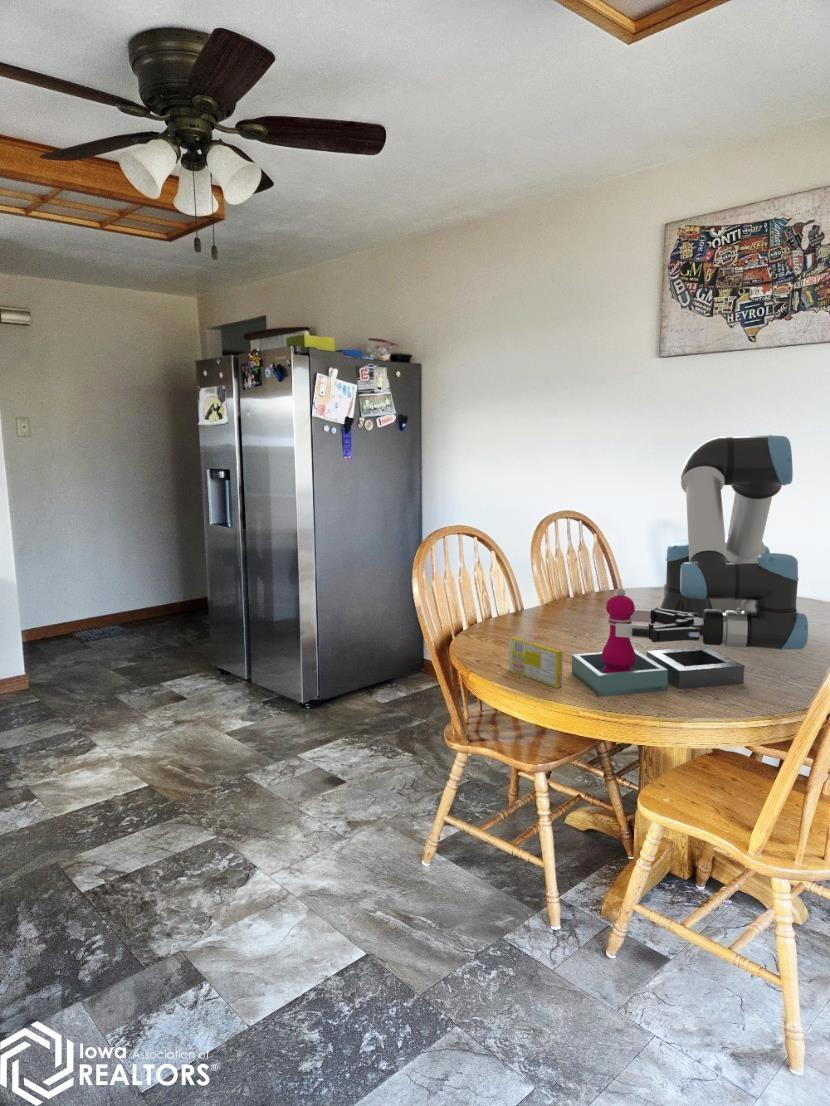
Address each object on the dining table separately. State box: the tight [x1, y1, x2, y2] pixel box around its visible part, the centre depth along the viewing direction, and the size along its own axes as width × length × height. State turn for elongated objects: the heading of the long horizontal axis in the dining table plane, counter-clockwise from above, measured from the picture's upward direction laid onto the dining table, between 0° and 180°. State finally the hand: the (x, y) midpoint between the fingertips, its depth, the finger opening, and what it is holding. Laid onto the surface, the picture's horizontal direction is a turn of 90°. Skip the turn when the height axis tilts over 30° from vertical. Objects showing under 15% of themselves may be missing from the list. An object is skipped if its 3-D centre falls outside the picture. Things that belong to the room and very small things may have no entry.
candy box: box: [508, 635, 564, 689], centre depth 162 cm, size 16×2×8 cm, turn 33°
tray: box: [571, 649, 668, 697], centre depth 158 cm, size 15×15×4 cm
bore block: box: [646, 645, 745, 690], centre depth 161 cm, size 15×15×4 cm
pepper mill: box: [601, 588, 636, 673], centre depth 157 cm, size 7×7×20 cm
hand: (617, 621), depth 156 cm, fingers open, 13 cm apart
